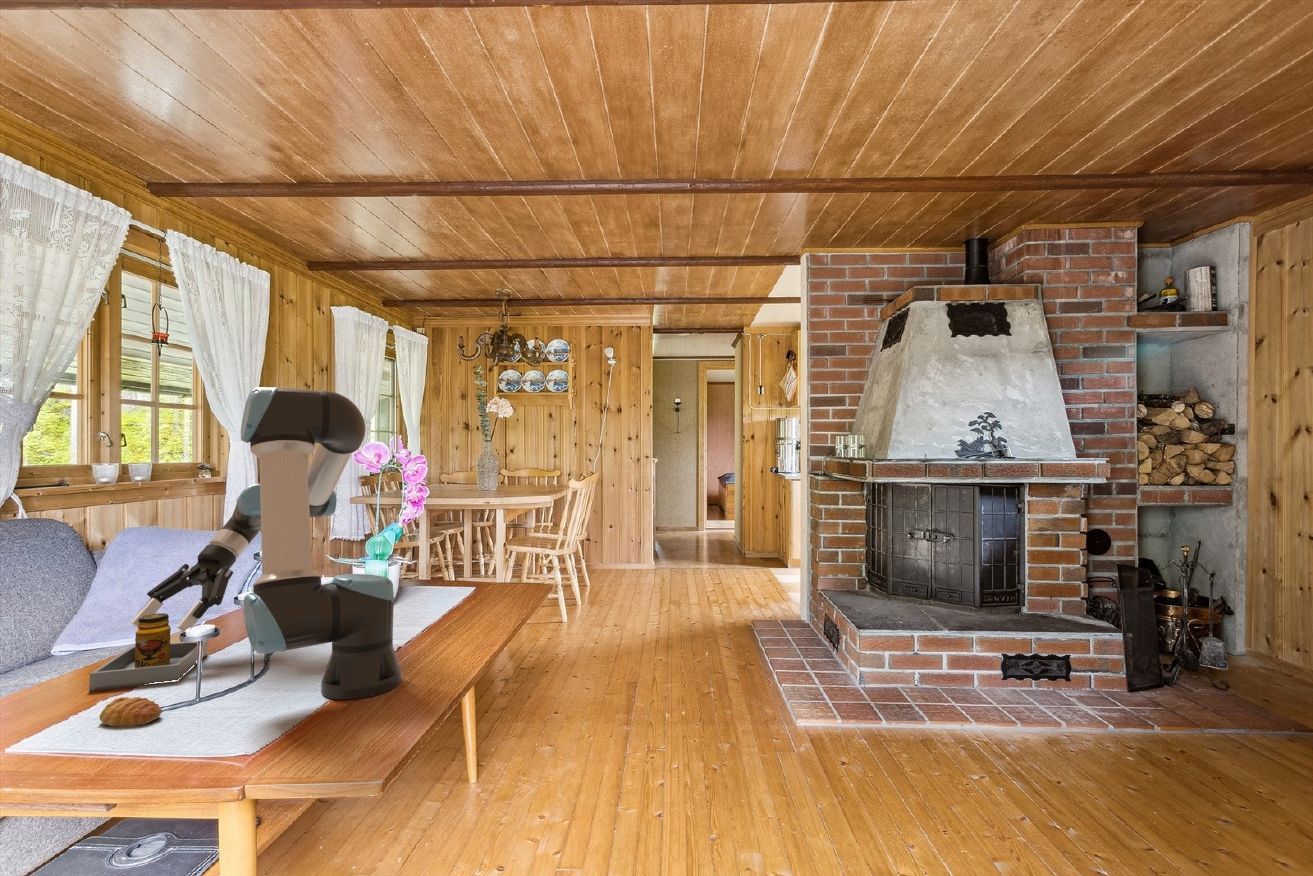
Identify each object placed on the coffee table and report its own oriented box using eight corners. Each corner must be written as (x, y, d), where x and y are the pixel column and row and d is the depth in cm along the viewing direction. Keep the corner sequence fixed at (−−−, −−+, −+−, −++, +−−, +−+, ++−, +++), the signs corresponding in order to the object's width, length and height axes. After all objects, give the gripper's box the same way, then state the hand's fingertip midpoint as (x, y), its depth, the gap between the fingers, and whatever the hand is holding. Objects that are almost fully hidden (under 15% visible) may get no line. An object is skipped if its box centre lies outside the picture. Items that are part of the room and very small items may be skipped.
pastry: (173, 715, 114) (173, 694, 114) (137, 731, 107) (137, 709, 107) (131, 711, 115) (131, 691, 115) (92, 727, 109) (93, 706, 109)
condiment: (140, 677, 131) (142, 621, 131) (122, 670, 135) (124, 616, 135) (179, 667, 137) (181, 613, 138) (161, 661, 141) (162, 609, 142)
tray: (177, 682, 130) (178, 665, 130) (89, 691, 125) (89, 673, 125) (207, 655, 148) (207, 640, 148) (130, 662, 142) (130, 646, 142)
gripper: (271, 562, 152) (212, 640, 137) (194, 558, 158) (129, 632, 143) (253, 544, 147) (190, 622, 132) (174, 541, 153) (105, 615, 138)
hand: (158, 628), depth 138 cm, fingers open, 13 cm apart
